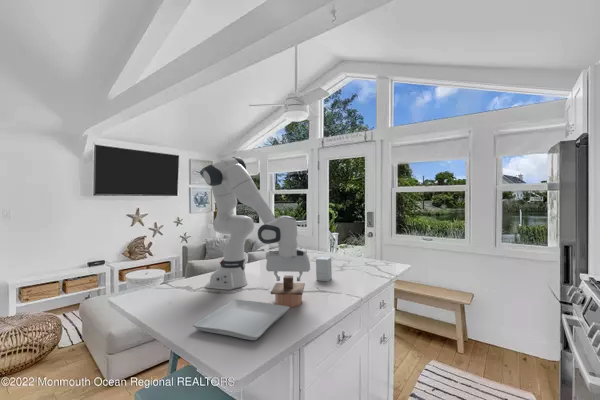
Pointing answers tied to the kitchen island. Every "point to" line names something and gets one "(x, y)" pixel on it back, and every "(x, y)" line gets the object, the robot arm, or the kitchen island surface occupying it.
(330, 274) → the supplement box
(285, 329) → the kitchen island surface
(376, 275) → the kitchen island surface
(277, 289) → the walnut lid
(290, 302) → the terracotta bowl
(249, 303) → the square plate
